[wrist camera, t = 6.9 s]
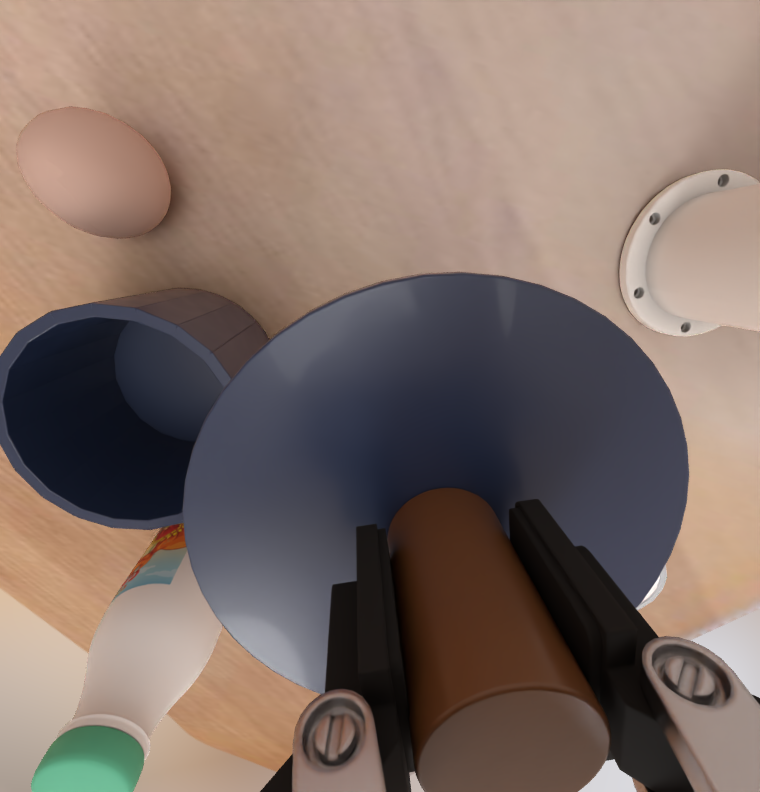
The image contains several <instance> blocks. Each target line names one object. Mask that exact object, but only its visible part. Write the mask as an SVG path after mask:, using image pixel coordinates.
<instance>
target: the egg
mask: <svg viewBox="0 0 760 792" xmlns="http://www.w3.org/2000/svg"><path fill="white" fill-rule="evenodd" d="M16 151H17V163H18V166H19V169H20V171H21V174H22V176H23V178H24V180H25V182H26V184H27V185H28V187H29V188H30V190H31V191H32V193H33V194H34V195H35V197H36V198H37V199H38V200H39V201H40V202H41V203H42V204H43V205H44V206H45V207H46V208H47V209H49V210H50V211H51V212H52V213H53V214H55V215H56V216H57V217H59V218H60V219H61V220H63V221H64V222H66V223H68V224H69V225H71V226H73V227H74V228H77V229H79V230H82V231H84V232H87V233H90V234H93V235H97V236H101V237H109V238H117V239H118V238H130V237H135V236H141V235H143V234H145V233H147V232H149V231H150V230H152V229H153V228H154V227H156V226H157V225H158V224H159V223H160V222H161V221H162V219H163V218H164V217H165V215H166V213H167V211H168V208H169V204H170V200H171V186H170V182H169V177H168V173H167V170H166V168H165V166H164V164H163V162H162V159H161V158H160V156H159V155H158V153H157V152H156V150H155V149H154V148H153V147H152V146H151V145H150V143H149V142H148V141H147V140H146V139H145V138H144V137H143V136H142V135H141V134H139V133H138V132H137V131H135V130H134V129H133V128H131V127H130V126H129V125H127V124H126V123H124V122H122V121H120V120H118V119H116V118H114V117H112V116H110V115H108V114H106V113H102V112H98V111H95V110H91V109H87V108H79V107H65V108H60V109H55V110H50V111H46V112H44V113H41V114H39V115H37V116H36V117H35V118H34V119H32V120H31V121H30V122H29V123H28V124H27V125H26V126H25V128H24V129H23V130H22V131H21V133H20V135H19V138H18V142H17V149H16Z"/></svg>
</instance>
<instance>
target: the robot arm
mask: <svg viewBox="0 0 760 792" xmlns="http://www.w3.org/2000/svg"><path fill="white" fill-rule="evenodd" d="M619 276H620V288H621V291H622V295H623V299H624V301H625V303H626V305H627V307H628V309H629V311H630V312H631V313H632V315H633V316H634V317H635V318H636V319H637V320H638V321H639V322H640V323H642V324H643V325H644V326H646V327H647V328H649V329H651V330H654V331H656V332H659V333H663V334H667V335H671V336H681V337H686V336H693V335H700V334H703V333H706V332H709V331H712V330H714V329H716V328H718V327H720V326H722V325H724V326H730V327H736V328H741V329H747V330H752V331H758V332H760V182H759V181H757V180H756V179H755V178H753V177H751V176H749V175H747V174H745V173H743V172H739V171H735V170H730V169H714V170H709V171H705V172H700V173H696V174H693V175H690V176H687V177H684V178H682V179H680V180H678V181H676V182H675V183H673V184H671V185H669V186H668V187H666V188H665V189H664V190H663V191H661V192H660V193H659V194H658V195H656V196H655V197H654V198H653V199H652V200H651V201H650V202H649V204H648V205H647V206H646V207H645V208H644V209H643V210H642V212H641V213H640V215H639V216H638V218H637V219H636V221H635V222H634V224H633V225H632V227H631V230H630V232H629V234H628V236H627V238H626V240H625V244H624V247H623V251H622V254H621V260H620V270H619ZM509 532H510V542H511V543H512V545H513V547H514V549H515V551H516V552H517V554H518V556H519V558H520V560H521V561H522V563H523V565H524V567H525V569H526V571H527V572H528V574H529V576H530V578H531V580H532V581H533V583H534V585H535V587H536V589H537V590H538V592H539V594H540V596H541V598H542V599H543V601H544V603H545V605H546V607H547V609H548V610H549V612H550V614H551V616H552V618H553V619H554V621H555V623H556V625H557V627H558V628H559V630H560V632H561V634H562V636H563V638H564V639H565V641H566V643H567V645H568V647H569V648H570V650H571V652H572V654H573V656H574V657H575V659H576V661H577V663H578V665H579V666H580V668H581V670H582V672H583V674H584V676H585V677H586V679H587V681H588V683H589V685H590V686H591V688H592V690H593V692H594V694H595V695H596V697H597V699H598V701H599V703H600V705H601V706H602V708H603V710H604V712H605V714H606V716H607V718H608V721H609V724H610V730H611V746H610V751H609V754H608V756H607V759H606V760H613V759H615V761H616V763H617V765H618V767H619V769H620V770H621V771H623V772H625V773H626V774H628V775H629V776H631V777H632V779H633V782H634V785H635V788H636V790H637V792H760V698H759V697H756V696H754V695H752V694H750V692H749V691H748V689H747V688H746V687H745V686H744V684H743V683H742V682H741V680H740V679H739V678H738V677H737V675H736V674H735V673H734V671H733V670H732V669H731V668H730V667H729V666H728V665H727V664H726V663H725V662H724V661H723V660H722V659H721V658H720V657H718V656H717V655H715V654H714V653H713V652H711V651H710V650H709V649H707V648H705V647H703V646H701V645H699V644H697V643H695V642H693V641H689V640H686V639H682V638H679V637H667V636H664V637H658V636H657V634H656V633H655V632H654V631H653V629H652V628H651V627H650V626H649V624H648V623H647V622H646V621H645V619H644V618H643V617H642V616H641V614H640V613H639V612H638V611H637V609H636V608H635V607H634V606H633V604H632V603H631V602H630V601H629V599H628V598H627V597H626V596H625V594H624V593H623V592H622V591H621V589H620V588H619V587H618V586H617V584H616V583H615V582H614V581H613V579H612V578H611V577H610V576H609V574H608V573H607V572H606V571H605V569H604V568H603V567H602V566H601V564H600V563H599V562H598V561H597V560H596V558H595V557H594V556H593V555H592V553H591V552H590V551H589V550H588V549H587V548H586V547H584V546H582V545H581V546H574V545H573V543H572V542H571V541H570V539H569V538H568V537H567V535H566V534H565V533H564V531H563V530H562V529H561V528H560V526H559V525H558V524H557V522H556V521H555V520H554V518H553V517H552V516H551V514H550V513H549V512H548V510H547V509H546V508H545V507H544V505H543V504H542V503H541V501H540V500H539V499H531V500H525V501H518V502H516V503H515V508H510V509H509ZM356 557H357V581H352V582H346V583H339V584H333V586H332V591H331V604H330V620H329V635H328V651H327V666H326V681H325V693H323V694H321V695H319V696H318V697H317V698H316V699H314V700H313V701H312V702H311V703H309V705H308V706H307V707H306V709H305V710H304V711H303V713H302V714H301V716H300V718H299V720H298V723H297V725H296V727H295V732H294V739H293V754H292V755H291V756H290V758H289V759H288V760H287V761H286V762H285V763H284V765H283V766H282V767H281V768H280V769H279V770H278V771H277V773H276V774H275V775H274V776H273V777H272V778H271V780H270V781H269V782H268V783H267V784H266V785H265V787H264V788H263V789H262V790H261V791H260V792H411V785H410V776H409V772H414V771H415V768H414V761H413V752H412V744H411V735H410V727H409V706H408V697H407V689H406V681H405V673H404V665H403V657H402V649H401V641H400V633H399V625H398V616H397V608H396V600H395V592H394V584H393V576H392V568H391V560H390V554H389V547H388V541H387V535H386V529H385V528H382V529H378V528H377V524H370V525H364V526H358V527H356Z"/></svg>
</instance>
